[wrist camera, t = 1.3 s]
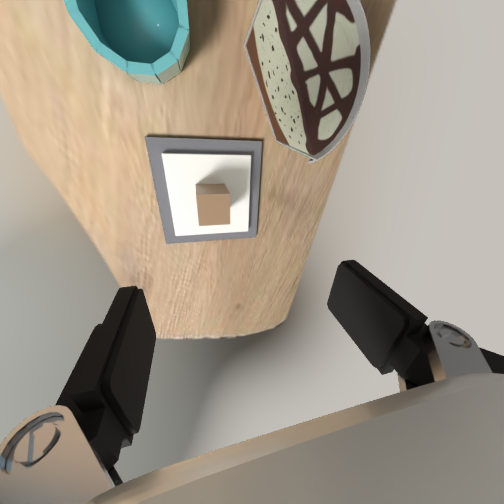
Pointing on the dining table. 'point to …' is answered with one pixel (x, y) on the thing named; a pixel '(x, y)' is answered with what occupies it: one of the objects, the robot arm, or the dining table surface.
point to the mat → (202, 147)
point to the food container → (310, 69)
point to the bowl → (136, 35)
